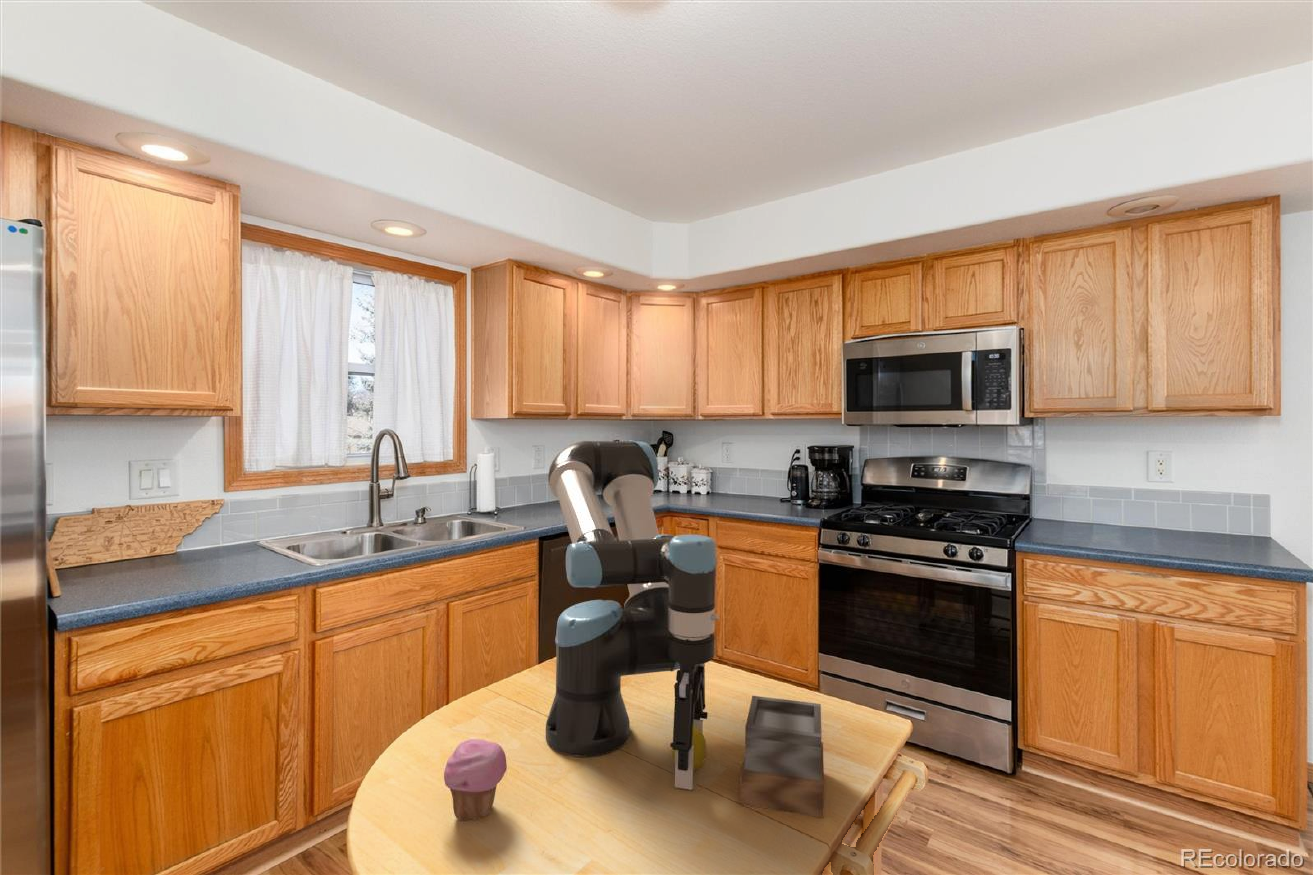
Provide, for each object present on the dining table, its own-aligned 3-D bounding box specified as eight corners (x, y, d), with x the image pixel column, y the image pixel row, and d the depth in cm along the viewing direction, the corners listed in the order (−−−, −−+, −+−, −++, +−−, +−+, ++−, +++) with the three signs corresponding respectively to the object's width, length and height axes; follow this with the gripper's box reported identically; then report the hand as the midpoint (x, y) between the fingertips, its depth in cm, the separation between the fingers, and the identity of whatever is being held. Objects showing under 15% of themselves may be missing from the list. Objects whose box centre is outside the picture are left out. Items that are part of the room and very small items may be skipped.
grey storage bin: (740, 804, 93) (741, 728, 93) (748, 761, 104) (749, 694, 104) (823, 817, 90) (825, 739, 90) (822, 772, 102) (823, 702, 101)
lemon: (695, 787, 97) (696, 736, 97) (665, 775, 100) (666, 726, 100) (711, 770, 102) (712, 722, 101) (682, 760, 105) (683, 713, 104)
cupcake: (452, 794, 94) (453, 729, 94) (510, 792, 95) (511, 727, 95) (436, 833, 85) (436, 761, 85) (500, 830, 86) (500, 759, 86)
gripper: (703, 658, 89) (700, 815, 90) (723, 615, 109) (721, 743, 110) (652, 653, 91) (650, 806, 92) (681, 611, 111) (679, 737, 112)
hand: (689, 772), depth 101 cm, fingers open, 8 cm apart
